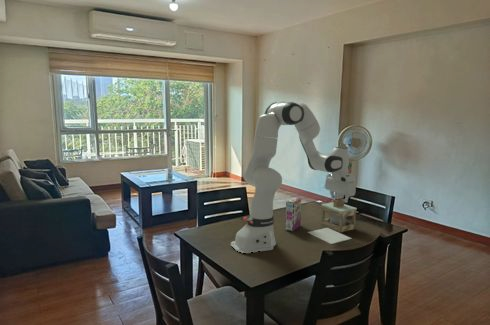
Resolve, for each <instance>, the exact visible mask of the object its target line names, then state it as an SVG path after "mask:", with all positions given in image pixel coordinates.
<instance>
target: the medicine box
mask: <svg viewBox="0 0 490 325" xmlns="http://www.w3.org/2000/svg"><path fill="white" fill-rule="evenodd" d="M330 218H331V221H330V223H333V224H335V225H337V226H339V217H337V216H335V215H332V214H330ZM346 221H347V217H343V218H342V226H346Z"/></svg>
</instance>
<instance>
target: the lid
mask: <svg viewBox="0 0 490 325" xmlns="http://www.w3.org/2000/svg"><path fill="white" fill-rule="evenodd" d="M343 199H344V198H340V199H333V201H332V202H327V203H321V204H320V205H321V207H322V206H323V207H325V208H328V209H331V210H334V211H336V212H339V213H344V212H349V211H354V210H356V211H357V210H358V208H357V207H354V206H351V205H348V204H347V203H345V202H343Z"/></svg>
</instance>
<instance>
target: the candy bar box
mask: <svg viewBox="0 0 490 325" xmlns="http://www.w3.org/2000/svg"><path fill="white" fill-rule="evenodd" d="M301 217H302V198H301V197H296V196H294V197H292V198H289V199H288V200H287V201H285V223H284V224H285V228H284V229H285V231H289V232H294V231H295V230H297V229H298V228H299V227H300V226H301Z"/></svg>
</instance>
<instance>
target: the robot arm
mask: <svg viewBox="0 0 490 325" xmlns="http://www.w3.org/2000/svg"><path fill="white" fill-rule="evenodd" d="M293 125H294V127H295V130H296V131H297V133H298V135H299V136H298V139H299V141H300V143H301V146H302V148H303V151H304V153H305V155H306V159H307V163H308V167H309V168H310V169H311V170H314V171H320V172H325V173H328V174H327V175H326V177H325V182H324V188H325V190H327V191H329V194H330V198H331V199H333V200H336V195H335V193H338V194H341V195H344V197H345V198H342V199H343V202H344V204H347V203H349V202H348V200H349V198H350V197H354V196H355V195H356V189H357V187H356V177H355V176H354V175H352V174H351V173H349V169H348V168H349V164H350V163H349V160H350V159H349V158H350V157H349V156H350V155H349V150H348V149H347V148H346V147H341V146H334V147H333V149H331V151H330V152H328V153H322V152H320V151H319V150H317V148H316V144H315V143H314V140H315V139H316V138H317V137H318V136H319V134H320V131H321V127H320V123H319V120H317V118H316V116H315V114H314V112H312V110H311V109H310V108H309V107H308V105H307V104H305V103H297V102H294V101H291V102H289V101H288V102H287V101H279V102H276V101H275V102H272V103H270V104H269V105H267V107H266V109H265V112H264V113H263V114H261V115H260V116H258V119H257V122H256V126H255V131H254V139H253V148H252V153H251V156H250V159H249V162H248V164H247V165H246V166H245V167H244V168H243V171H242V179H244V180H243V181H245V182H246V183H247V184H248V185H250V186H252V187H254V188H255V190H254V195H253V197H252V198H251V199H250V200H249V201H250V202H249V208H250V209H249V212H250V214H249V217H247V216H243V219H242V220H243V221H244V222H247V223H246V224H245V225H244V226H243V227H242V228H241V229H239V230H238V231H237V232H236V234H235V239H234V240H233V241H231V242H230V247H231V246H232V247H233V248H234V249H235V250H234V249H233V248H232V247H231V248H232V249H233V250H234V251H235V252H237V251H238V253H239V252H241V253H240V254H243V253H246V254H252V253H251V252H253V253H259V252H258V251H260V252H267V251H273V250H274V247H275V246H276V244H277V242H276V238H275V232H274V224H275V222H274V221H275V219H274V214H273V213H274V199H275V195H276V192H277V190H279V189H280V188H281V186H282V184H283V178H282V174H281V173H280V172H278V171H277V170H276V169H274V168H273V167H269V166H270V164H271V161H272V159H273V158H274V157H275V156H276V155H277V154H276V153H277V147H278V137H279V129H280V127H281V126H293Z"/></svg>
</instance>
